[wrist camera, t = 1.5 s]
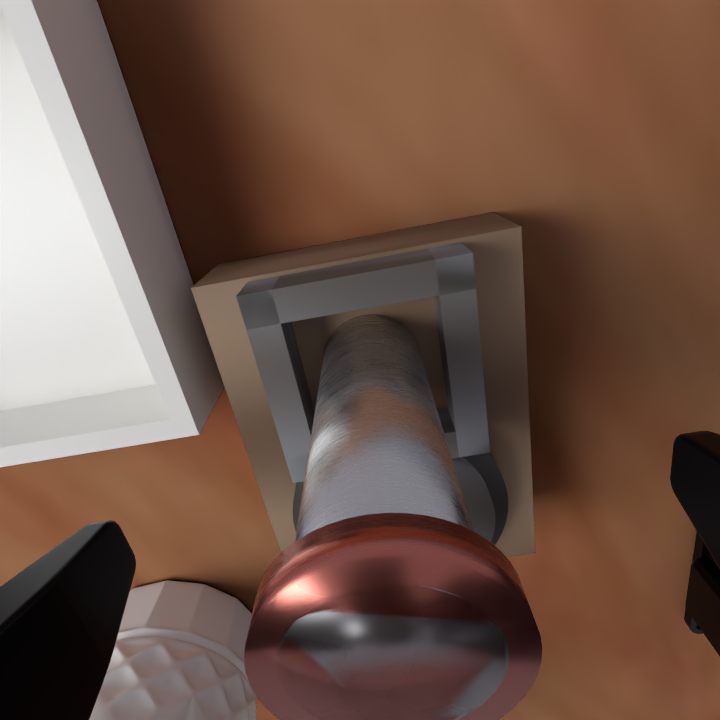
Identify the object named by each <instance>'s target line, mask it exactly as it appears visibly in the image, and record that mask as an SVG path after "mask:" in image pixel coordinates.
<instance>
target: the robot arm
mask: <svg viewBox="0 0 720 720" xmlns="http://www.w3.org/2000/svg"><path fill="white" fill-rule="evenodd" d="M670 480H671V485H672V489H673V491H674V493H675V495H676V497H677V499H678V500H679V502H680V504H681V505H682V507H683V509H684V510H685V512H686V514H687V515H688V517H689V519H690V520H691V522H692V524H693V525H694V527H695V528H696V530H697V534H696V541H695V548H694V554H693V561H692V565H691V571H690V578H689V585H688V592H687V599H686V610H685V617H684V620H685V622H686V624H687V625H688V627H689V628H690V630H691V631H692V632H694V633H697V634H702V633H704V635H705V636H706V637H707V639H708V640H709V642H710V643H711V645H712V646H713V647H714V649H715V650H716V652H717V653H718V654H719V656H720V435H719V434H716V433H713V432H710V431H698V432H691V433H685V434H680V435H679V436H677V437H676V439H675V441H674V446H673V455H672V465H671V475H670ZM135 568H136V560H135V555H134V553H133V551H132V549H131V547H130V545H129V543H128V541H127V539H126V538H125V536H124V534H123V532H122V530H121V528H120V526H119V525H118V524H117V523H116V522H115V521H111V520H108V521H102V522H95V523H90V524H88V525H86V526H84V527H83V528H81V529H80V530H79V531H77V532H76V533H74V534H73V535H72V536H70V537H69V538H67V539H66V540H65V541H63V542H62V543H61V544H59V545H58V546H56V547H55V548H54V549H52V550H51V551H49V552H48V553H47V554H45V555H44V556H42V557H41V558H40V559H38V560H37V561H36V562H34V563H33V564H31V565H30V566H29V567H27V568H26V569H24V570H23V571H22V572H20V573H19V574H17V575H16V576H15V577H13V578H12V579H11V580H9V581H8V582H6V583H5V584H4V585H2V586H1V587H0V720H89V719H90V716H91V714H92V711H93V708H94V706H95V703H96V700H97V698H98V695H99V692H100V689H101V687H102V684H103V681H104V678H105V676H106V673H107V670H108V667H109V664H110V660H111V657H112V654H113V651H114V647H115V643H116V640H117V636H118V632H119V629H120V625H121V621H122V618H123V614H124V610H125V607H126V603H127V599H128V595H129V592H130V588H131V584H132V581H133V577H134V573H135Z"/></svg>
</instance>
